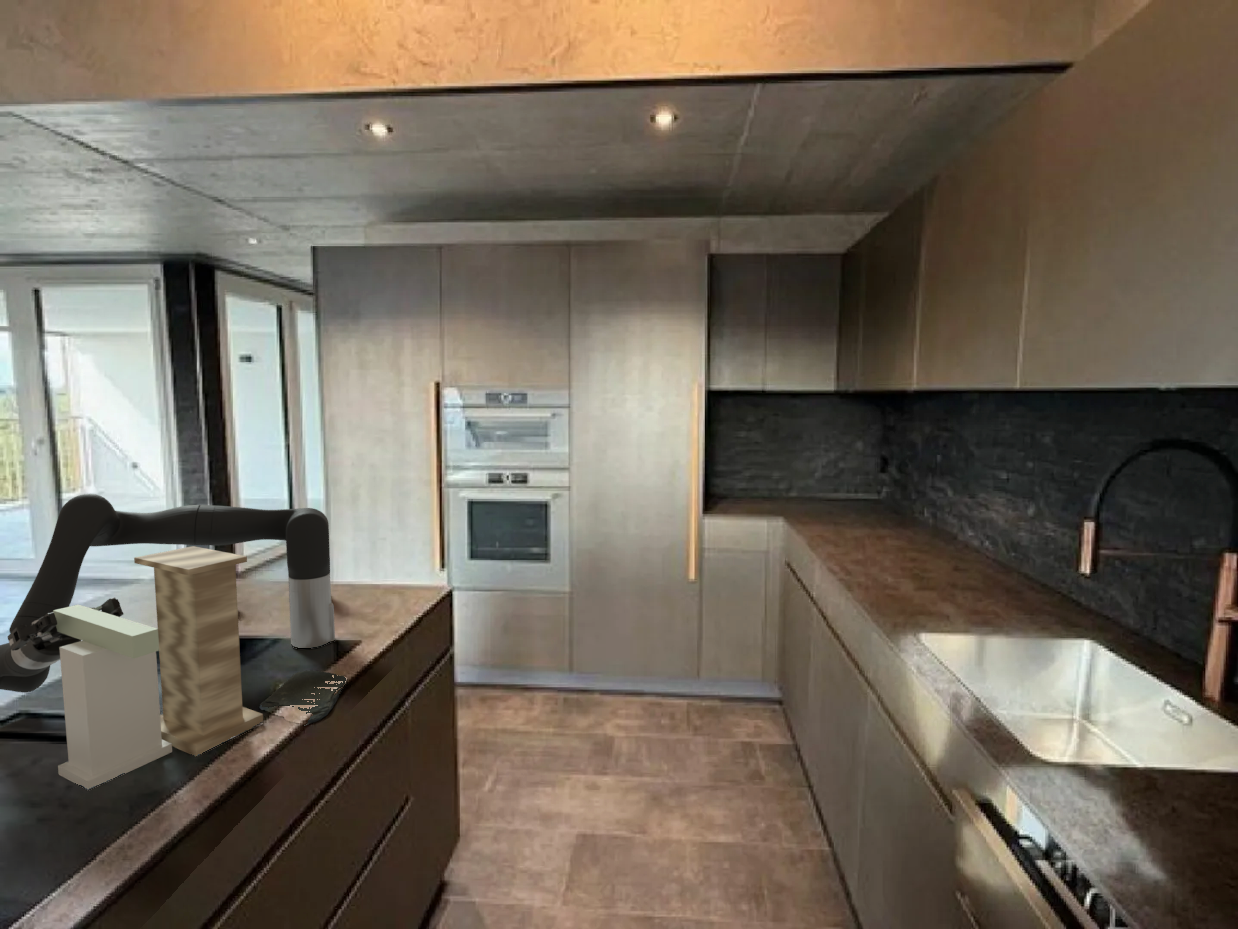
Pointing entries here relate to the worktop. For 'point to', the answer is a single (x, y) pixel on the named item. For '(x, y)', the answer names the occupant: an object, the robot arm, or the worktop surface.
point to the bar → (107, 631)
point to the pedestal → (109, 713)
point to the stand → (199, 647)
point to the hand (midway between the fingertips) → (85, 610)
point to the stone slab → (308, 693)
